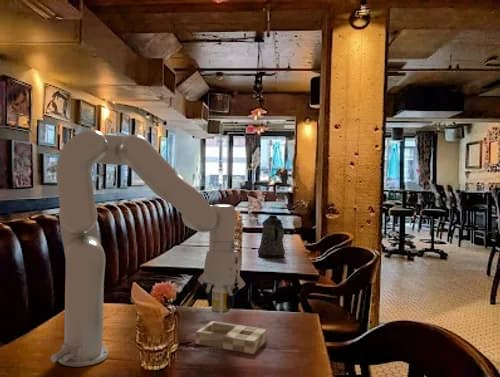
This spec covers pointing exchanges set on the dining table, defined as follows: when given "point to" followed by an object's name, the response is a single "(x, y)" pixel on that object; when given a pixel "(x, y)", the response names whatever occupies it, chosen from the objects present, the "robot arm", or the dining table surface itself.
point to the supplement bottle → (219, 300)
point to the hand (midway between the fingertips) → (220, 306)
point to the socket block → (231, 336)
